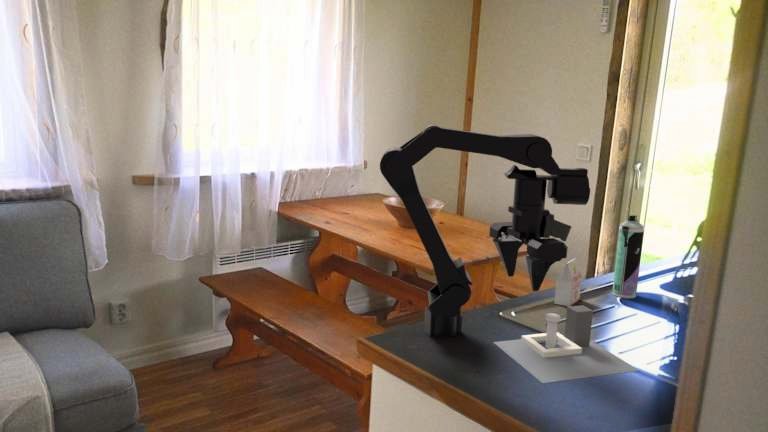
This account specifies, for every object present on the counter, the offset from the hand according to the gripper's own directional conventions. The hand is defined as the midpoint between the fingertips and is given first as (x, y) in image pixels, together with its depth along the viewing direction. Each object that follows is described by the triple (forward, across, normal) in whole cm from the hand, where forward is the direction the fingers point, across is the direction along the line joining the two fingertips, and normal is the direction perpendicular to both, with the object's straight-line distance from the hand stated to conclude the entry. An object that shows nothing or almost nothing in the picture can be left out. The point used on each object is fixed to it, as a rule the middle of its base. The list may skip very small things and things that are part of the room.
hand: (522, 283), depth 116 cm
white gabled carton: (+12, +19, -24) cm, 33 cm away
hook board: (+12, -10, -3) cm, 16 cm away
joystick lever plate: (+11, -7, -5) cm, 13 cm away
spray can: (+12, +20, -41) cm, 47 cm away
